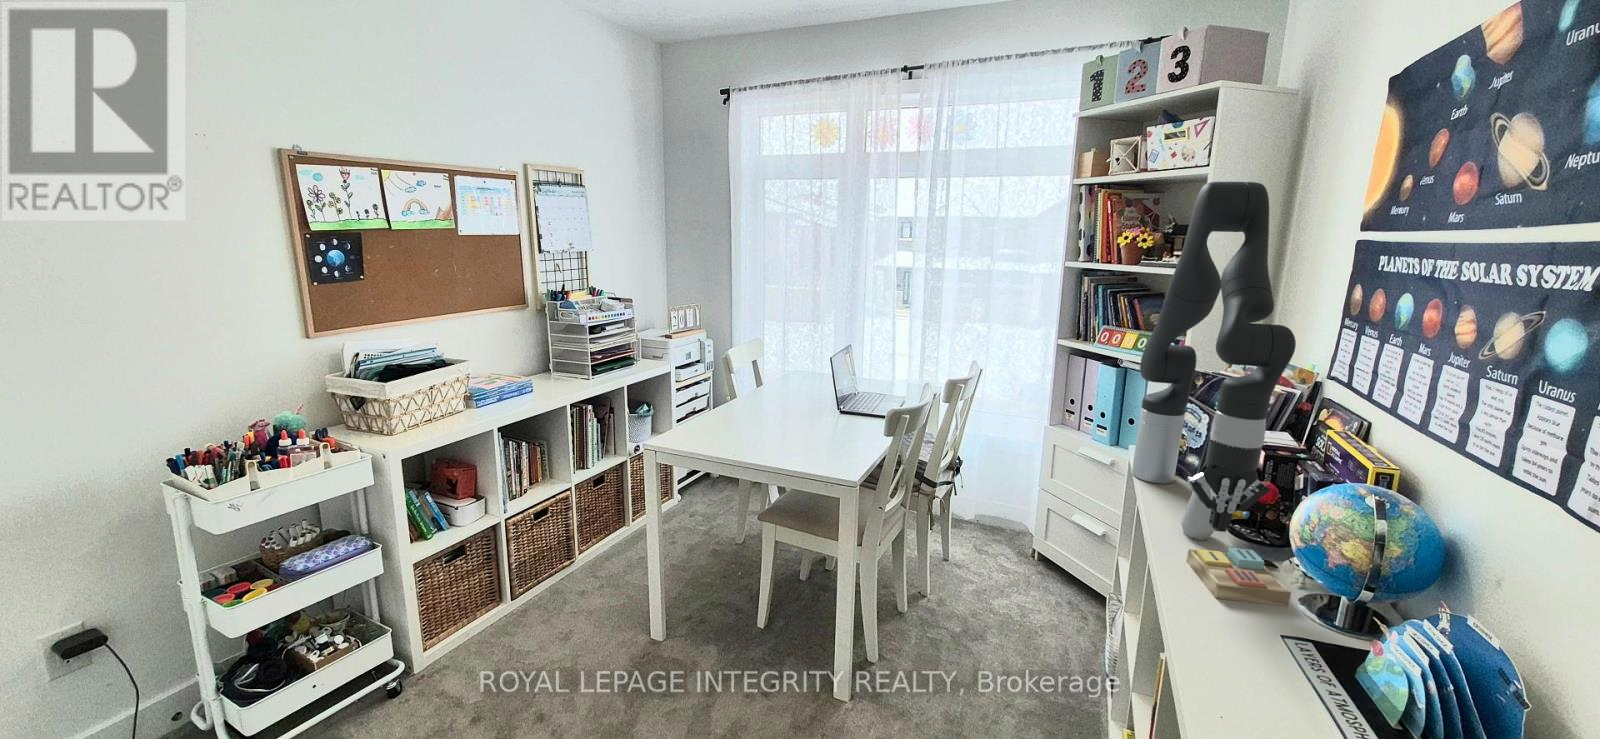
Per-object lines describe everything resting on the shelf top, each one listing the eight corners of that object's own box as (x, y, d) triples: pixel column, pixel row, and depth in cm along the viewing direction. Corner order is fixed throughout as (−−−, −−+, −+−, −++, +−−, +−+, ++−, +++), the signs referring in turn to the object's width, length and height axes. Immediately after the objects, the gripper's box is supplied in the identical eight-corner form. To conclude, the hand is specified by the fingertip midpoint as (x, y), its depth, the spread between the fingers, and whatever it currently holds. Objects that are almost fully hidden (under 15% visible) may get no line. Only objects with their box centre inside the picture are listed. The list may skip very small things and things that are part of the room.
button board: (1186, 561, 117) (1188, 549, 116) (1251, 567, 115) (1254, 555, 114) (1215, 598, 105) (1218, 585, 105) (1288, 605, 104) (1291, 592, 103)
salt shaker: (1219, 540, 124) (1231, 480, 121) (1197, 544, 123) (1208, 483, 120) (1194, 526, 130) (1205, 468, 127) (1172, 530, 128) (1182, 471, 125)
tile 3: (1225, 580, 109) (1227, 567, 109) (1250, 583, 109) (1253, 570, 108) (1236, 593, 106) (1239, 580, 105) (1262, 596, 105) (1265, 583, 104)
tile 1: (1194, 560, 116) (1196, 548, 115) (1218, 563, 115) (1220, 550, 114) (1204, 572, 112) (1206, 560, 111) (1228, 575, 111) (1231, 562, 110)
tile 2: (1226, 559, 114) (1228, 547, 114) (1250, 561, 114) (1252, 549, 113) (1236, 571, 111) (1239, 558, 110) (1261, 573, 110) (1264, 561, 109)
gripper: (1267, 433, 110) (1248, 522, 114) (1185, 428, 112) (1169, 516, 116) (1291, 449, 103) (1270, 543, 107) (1203, 443, 105) (1186, 536, 109)
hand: (1218, 529), depth 112 cm, fingers closed
